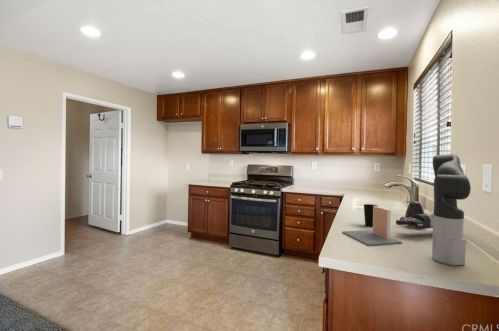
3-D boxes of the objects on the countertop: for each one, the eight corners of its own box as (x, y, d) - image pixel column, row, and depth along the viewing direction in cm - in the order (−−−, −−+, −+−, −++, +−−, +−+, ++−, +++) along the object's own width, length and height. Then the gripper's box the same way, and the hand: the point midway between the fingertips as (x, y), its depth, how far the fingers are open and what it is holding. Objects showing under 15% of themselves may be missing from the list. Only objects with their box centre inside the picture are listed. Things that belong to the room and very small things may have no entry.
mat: (402, 243, 117) (402, 241, 117) (368, 246, 113) (368, 244, 113) (372, 231, 136) (372, 229, 136) (342, 232, 132) (342, 231, 132)
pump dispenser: (400, 225, 149) (400, 200, 148) (411, 224, 153) (412, 199, 153) (417, 230, 139) (418, 203, 139) (429, 228, 144) (430, 201, 143)
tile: (389, 238, 121) (390, 209, 121) (387, 238, 121) (387, 209, 120) (374, 232, 131) (375, 205, 130) (372, 232, 130) (373, 205, 130)
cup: (362, 226, 146) (363, 205, 146) (363, 223, 153) (364, 203, 152) (377, 228, 142) (378, 207, 142) (377, 225, 149) (378, 205, 149)
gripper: (414, 211, 138) (387, 212, 134) (437, 216, 125) (408, 218, 121) (413, 225, 138) (386, 226, 134) (436, 231, 125) (407, 233, 121)
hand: (397, 222), depth 128 cm, fingers closed
